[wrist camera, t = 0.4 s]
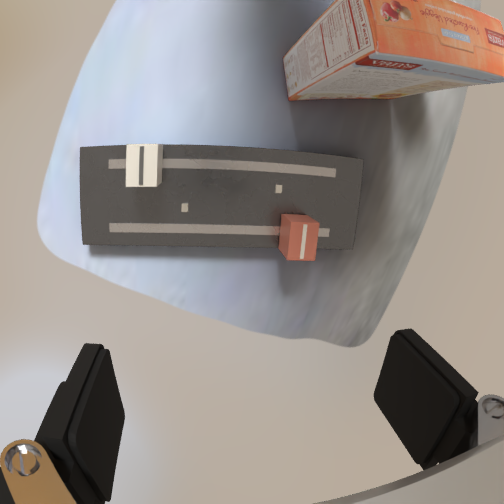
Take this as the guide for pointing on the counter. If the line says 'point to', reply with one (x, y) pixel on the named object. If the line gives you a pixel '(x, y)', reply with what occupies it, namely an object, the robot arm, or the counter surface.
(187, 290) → the counter surface
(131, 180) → the block
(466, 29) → the cracker box
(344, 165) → the console
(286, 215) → the rust fader
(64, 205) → the counter surface
